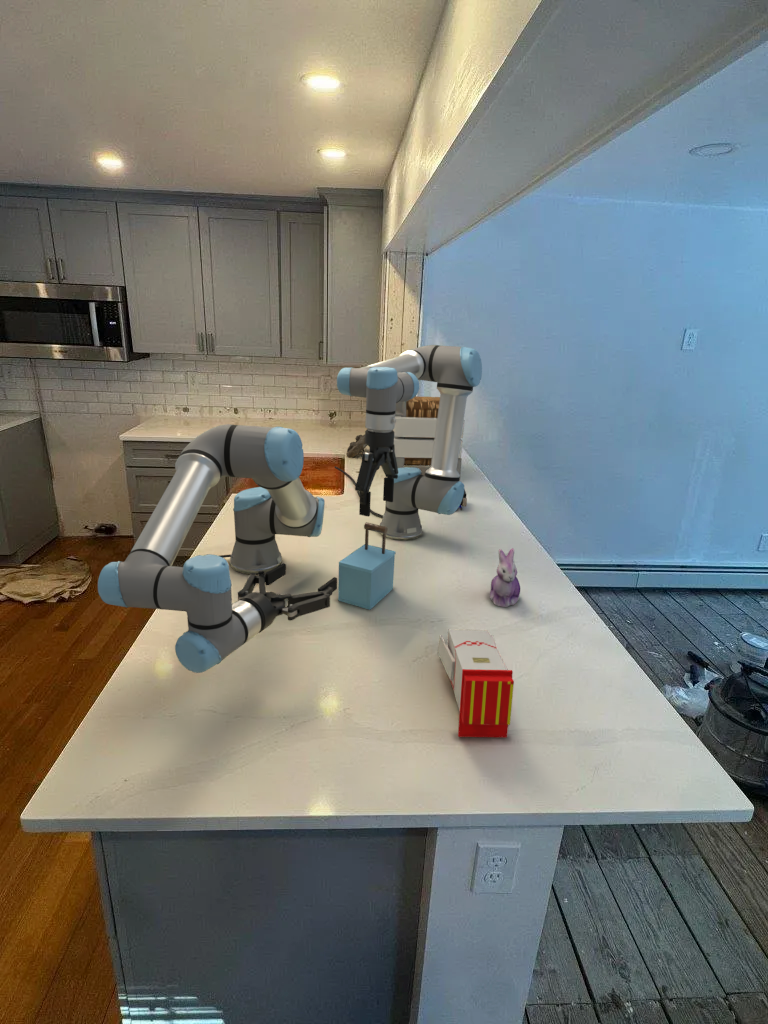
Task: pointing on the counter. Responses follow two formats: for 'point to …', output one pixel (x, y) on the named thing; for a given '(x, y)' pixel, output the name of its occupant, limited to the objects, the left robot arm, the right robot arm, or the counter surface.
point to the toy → (478, 682)
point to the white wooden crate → (417, 432)
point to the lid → (369, 552)
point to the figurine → (505, 581)
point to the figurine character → (463, 501)
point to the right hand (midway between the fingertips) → (376, 508)
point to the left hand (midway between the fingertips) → (309, 575)
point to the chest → (365, 585)
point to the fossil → (356, 446)
